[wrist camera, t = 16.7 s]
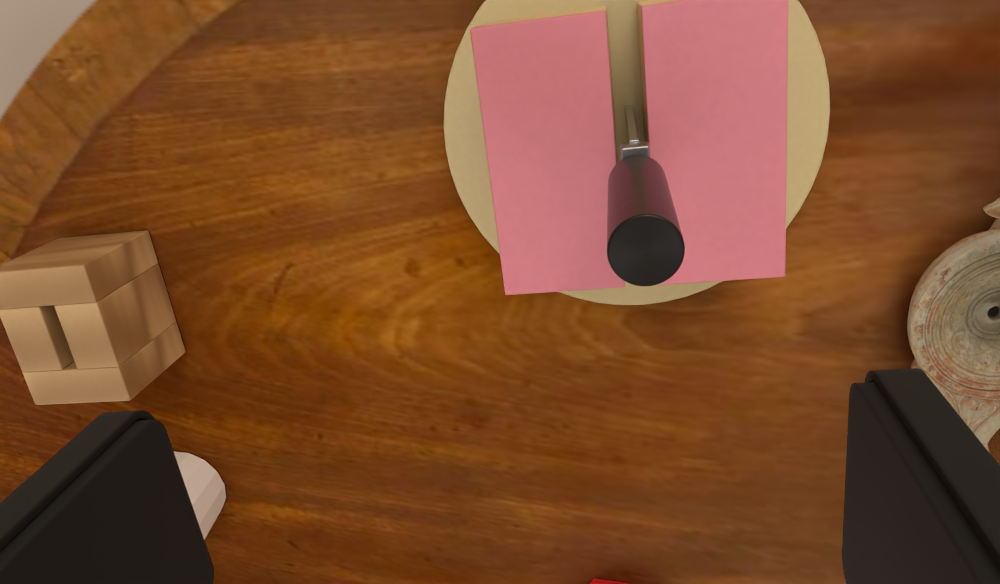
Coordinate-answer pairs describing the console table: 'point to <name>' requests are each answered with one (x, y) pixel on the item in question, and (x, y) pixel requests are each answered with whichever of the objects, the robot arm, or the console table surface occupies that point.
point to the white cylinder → (202, 489)
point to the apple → (605, 582)
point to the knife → (641, 216)
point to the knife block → (89, 318)
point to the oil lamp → (962, 327)
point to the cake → (660, 121)
